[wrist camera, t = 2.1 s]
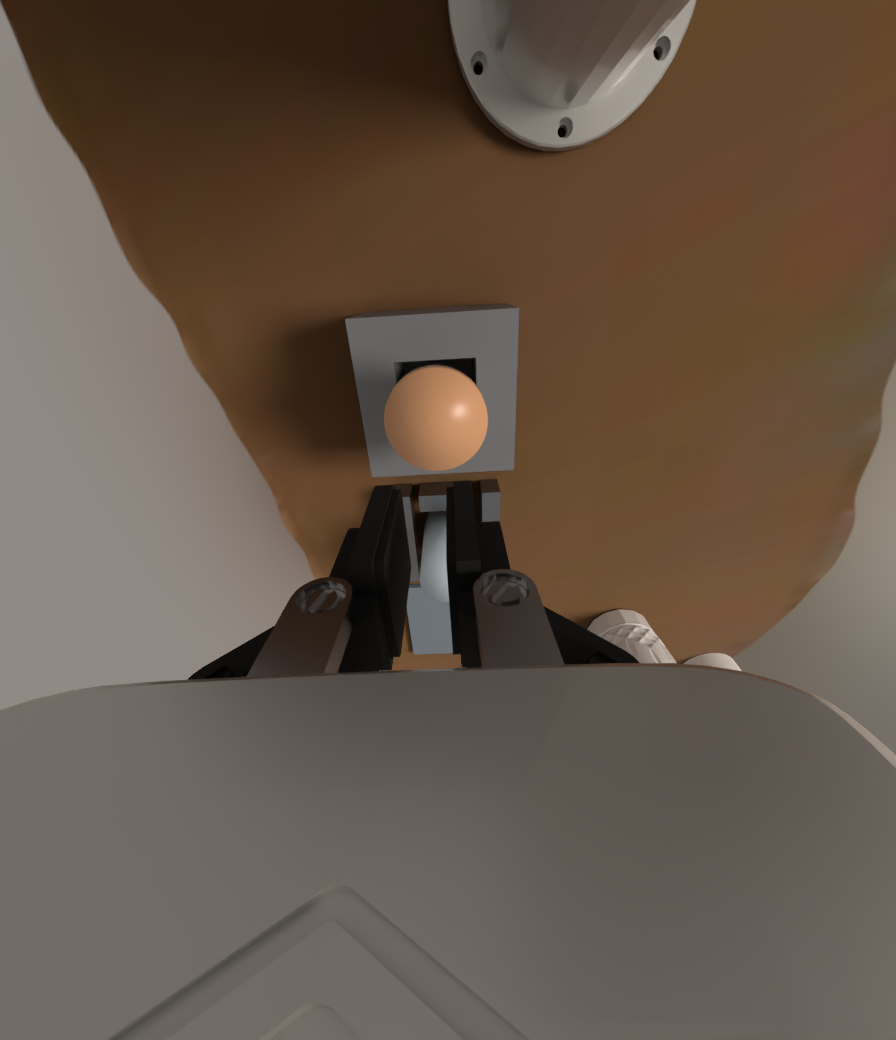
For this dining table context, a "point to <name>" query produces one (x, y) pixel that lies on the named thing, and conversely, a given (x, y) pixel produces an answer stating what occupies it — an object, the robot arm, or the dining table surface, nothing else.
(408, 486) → the cartridge socket
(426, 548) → the cylinder
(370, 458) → the plunger housing
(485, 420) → the plunger
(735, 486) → the dining table surface
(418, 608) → the rubber mat
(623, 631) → the white cup
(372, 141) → the dining table surface
